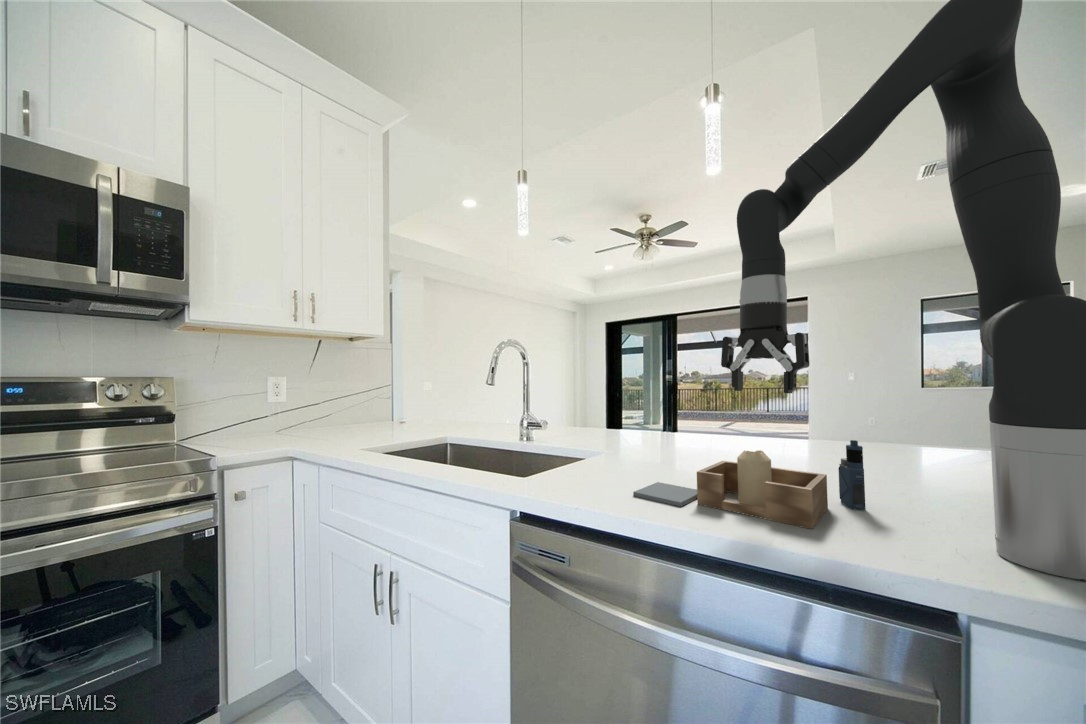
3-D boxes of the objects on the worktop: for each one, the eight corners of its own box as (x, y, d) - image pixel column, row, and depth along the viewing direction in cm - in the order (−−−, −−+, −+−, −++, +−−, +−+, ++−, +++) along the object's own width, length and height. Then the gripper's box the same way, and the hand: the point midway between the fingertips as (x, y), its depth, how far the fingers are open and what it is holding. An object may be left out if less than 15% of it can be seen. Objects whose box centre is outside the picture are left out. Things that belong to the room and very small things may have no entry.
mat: (703, 494, 80) (703, 490, 80) (681, 506, 73) (681, 502, 73) (657, 485, 87) (657, 482, 87) (633, 495, 80) (633, 491, 80)
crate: (827, 508, 71) (826, 474, 71) (812, 529, 62) (810, 489, 62) (723, 489, 84) (722, 460, 84) (697, 504, 74) (696, 471, 74)
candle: (764, 500, 76) (762, 447, 76) (778, 510, 70) (776, 453, 71) (734, 500, 76) (732, 447, 77) (745, 509, 71) (743, 453, 71)
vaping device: (851, 510, 70) (849, 441, 70) (837, 501, 75) (835, 437, 75) (869, 511, 69) (866, 442, 70) (853, 502, 74) (850, 437, 75)
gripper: (815, 301, 70) (814, 393, 70) (733, 309, 81) (732, 389, 81) (799, 295, 65) (798, 395, 65) (715, 305, 76) (714, 390, 76)
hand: (762, 392), depth 73 cm, fingers open, 8 cm apart
